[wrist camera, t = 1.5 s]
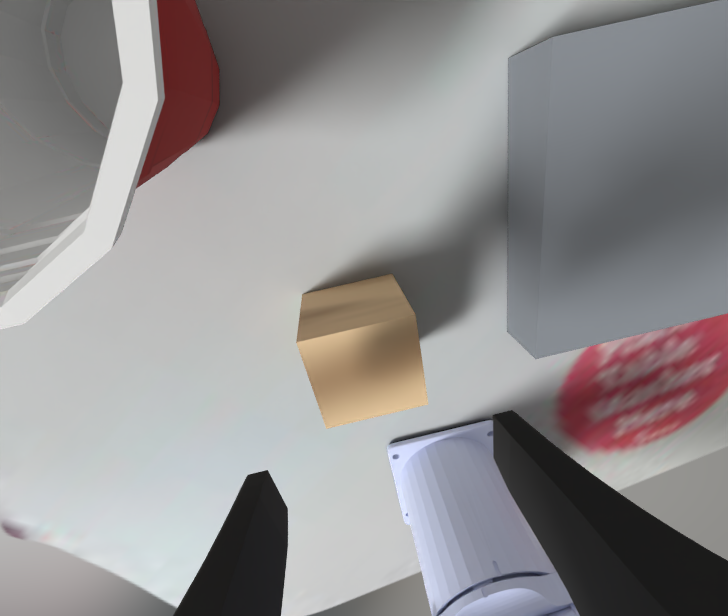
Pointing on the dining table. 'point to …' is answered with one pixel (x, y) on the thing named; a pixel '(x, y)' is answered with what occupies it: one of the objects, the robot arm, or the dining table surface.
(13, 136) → the plastic cup
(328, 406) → the oak cube
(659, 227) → the slate base
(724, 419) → the dining table surface
